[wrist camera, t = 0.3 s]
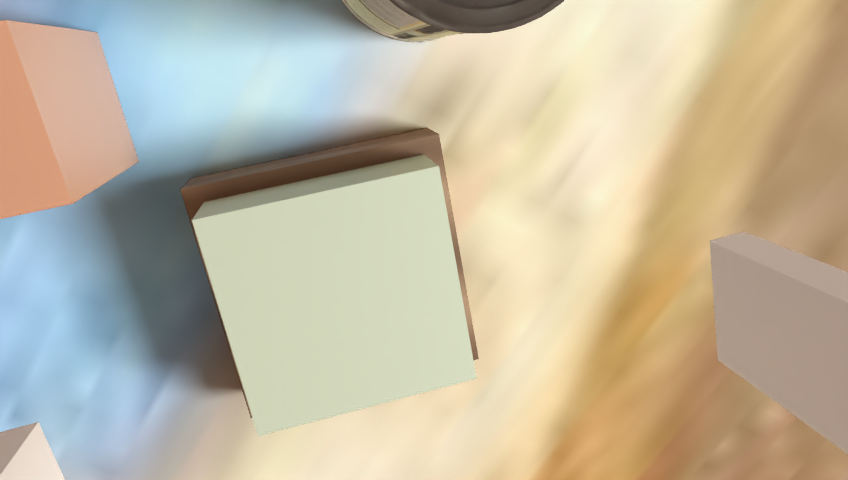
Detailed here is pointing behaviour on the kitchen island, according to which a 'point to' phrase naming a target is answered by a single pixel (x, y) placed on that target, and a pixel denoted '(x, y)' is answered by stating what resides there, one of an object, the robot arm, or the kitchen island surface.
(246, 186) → the walnut block
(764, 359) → the robot arm
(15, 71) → the terracotta block
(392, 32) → the coffee can
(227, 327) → the sage block
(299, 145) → the kitchen island surface
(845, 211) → the kitchen island surface
